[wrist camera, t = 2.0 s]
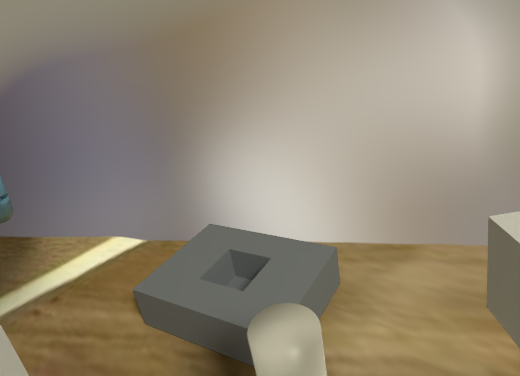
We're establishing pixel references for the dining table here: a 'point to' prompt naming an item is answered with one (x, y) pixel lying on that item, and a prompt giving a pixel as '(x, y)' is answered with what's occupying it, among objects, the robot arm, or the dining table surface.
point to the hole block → (234, 286)
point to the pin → (287, 341)
